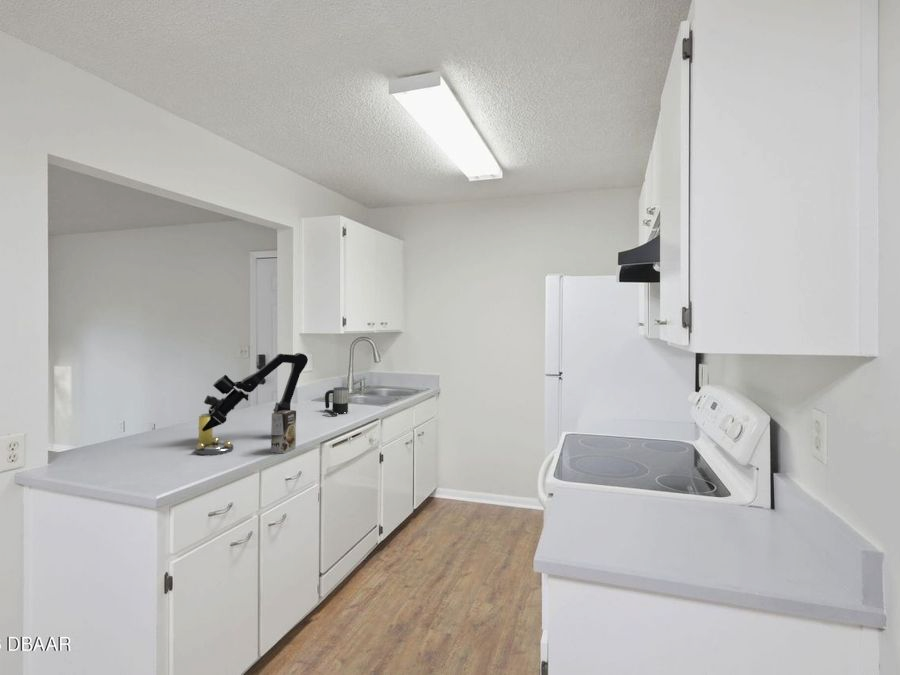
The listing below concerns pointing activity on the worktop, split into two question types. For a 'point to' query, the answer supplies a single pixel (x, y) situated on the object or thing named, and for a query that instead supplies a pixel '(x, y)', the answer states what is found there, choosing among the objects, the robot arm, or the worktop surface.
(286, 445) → the coffee box
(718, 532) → the worktop surface
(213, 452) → the base plate
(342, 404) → the milk frother
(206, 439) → the yellow cylinder
